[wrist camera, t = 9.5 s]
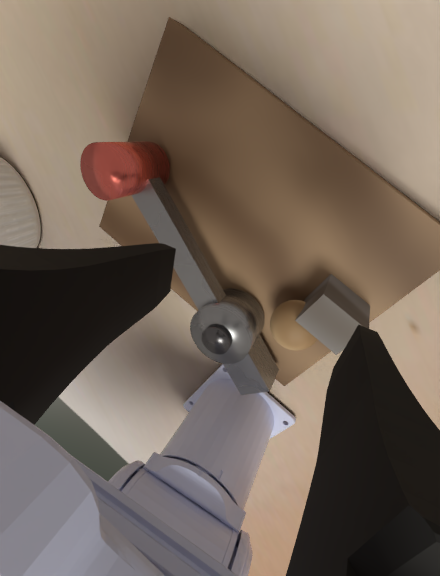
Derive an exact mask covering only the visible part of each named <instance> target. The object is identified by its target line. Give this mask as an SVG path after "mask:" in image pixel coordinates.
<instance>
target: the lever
mask: <svg viewBox="0 0 440 576" xmlns="http://www.w3.org/2000/svg"><path fill="white" fill-rule="evenodd" d="M81 172H82V176H83V179H84V181H85V184H86V185H87V187H88V189H89V190H90V191H91V192H92V193H93V194H94V195H95V196H96V197H98V198H99V199H102V200H106V201H107V200H113V199H117V198H122V197H126V196H130V195H131V196H132V197H133V199H134V201H135V202H136V204H137V206H138V208H139V209H140V211H141V213H142V214H143V216H144V218H145V220H146V221H147V223H148V225H149V226H150V228H151V230H152V232H153V233H154V235H155V237H156V238H157V240H158V242H159V243H163V244H166V245H168V246H171V247H173V248H175V249H176V252H175V260H174V267H173V268H174V269H175V271H176V273H177V274H178V276H179V278H180V280H181V281H182V283H183V285H184V286H185V288H186V290H187V292H188V293H189V295H190V297H191V298H192V300H193V302H194V304H195V305H196V307H197V309H198V310H199V311H198V312H197V313H196V314H195V315H194V316H193V318H192V320H191V325H190V330H191V335H192V338H193V340H194V342H195V344H196V345H197V347H198V348H199V349H200V351H201V352H202V353H203V354H205V355H206V356H207V357H209V358H210V359H212V360H214V361H216V362H219V363H223V365H224V367H225V369H226V370H227V372H228V374H229V375H230V377H231V379H232V380H233V382H234V384H235V386H236V387H237V389H238V391H239V392H240V394H241V395H247V394H254V393H261V392H268V391H270V389H271V387H272V384H273V382H274V380H275V378H276V375H277V373H278V371H279V368H278V367H277V365H276V363H275V361H274V359H273V358H272V356H271V354H270V352H269V350H268V348H267V347H266V345H265V343H264V341H263V339H262V338H261V336H260V333H261V331H262V329H263V327H264V313H263V310H262V308H261V306H260V305H259V303H258V302H257V301H256V300H255V299H254V298H253V297H252V296H251V295H250V294H248V293H246V292H244V291H242V290H239V289H234V288H228V289H224V290H223V289H222V287H221V285H220V284H219V282H218V280H217V278H216V276H215V275H214V273H213V271H212V269H211V267H210V266H209V264H208V262H207V260H206V259H205V257H204V255H203V253H202V251H201V250H200V248H199V246H198V244H197V242H196V241H195V239H194V237H193V235H192V233H191V232H190V230H189V228H188V226H187V224H186V223H185V221H184V219H183V217H182V216H181V214H180V212H179V210H178V208H177V207H176V205H175V203H174V201H173V199H172V198H171V196H170V194H169V192H168V190H167V189H166V187H165V184H166V182H167V180H168V178H169V173H170V165H169V160H168V157H167V155H166V153H165V152H164V150H163V149H162V148H161V147H160V146H159V145H158V144H156V143H154V142H96V143H91V144H89V145H88V146H87V147H86V148H85V149H84V151H83V153H82V156H81Z"/></svg>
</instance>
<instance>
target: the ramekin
mask: <svg viewBox="0 0 440 576" xmlns="http://www.w3.org/2000/svg"><path fill="white" fill-rule="evenodd" d="M40 235H41V224H40V218H39V213H38V209H37V206H36V203H35V201H34V198H33V196H32V194H31V192H30V190H29V188H28V186H27V185H26V183H25V182H24V180H23V179H22V177H21V176H20V175H19V173H18V172H17V171H16V170H15V169H14V168H13V167H12V166H11V165H10V164H9V163H8V162H7V161H5V160H4V159H2V158H1V157H0V245H7V246H16V247H27V248H37V246H38V244H39V241H40Z"/></svg>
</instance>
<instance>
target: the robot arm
mask: <svg viewBox="0 0 440 576" xmlns="http://www.w3.org/2000/svg"><path fill="white" fill-rule="evenodd" d="M175 252H176V249H175V248H173V247H171V246H168V245H166V244H163V243H152V244H139V245H129V246H119V247H108V248H94V249H42V248H27V247H16V246H7V245H0V576H248V573H249V569H250V565H251V560H252V547H251V544H250V537H249V534H248V533H246V532H244V531H242V530H241V531H240V528H241V526H242V523H243V520H244V517H245V514H246V512H245V511H244V510H243V509H244V507H245V504H246V501H247V498H248V496H249V493H250V490H251V487H252V485H253V482H254V479H255V477H256V474H257V471H258V468H259V466H260V463H261V460H262V457H263V455H264V452H265V449H266V447H267V444H268V441H269V439H270V438H272V437H274V436H275V435H277V434H279V433H280V432H282V431H284V430H285V429H287V428H288V427H290V426H292V425H293V424H294V423H295V420H296V419H295V417H294V415H292V414H291V413H290V412H289V411H288V410H287V409H285V408H284V407H283V406H282V405H281V404H280V403H279V402H277V401H276V400H275V399H274V398H273V397H272V396H271V395H269V394H268V393H267V392H261V393H254V394H247V395H241V394H240V392H239V391H238V389H237V387H236V386H235V384H234V382H233V380H232V379H231V377H230V375H229V374H228V372H227V370H226V369H225V367H224V365H223V364H222V365H221V366H220V367H219V368H218V369H217V370H216V371H215V372H214V373H213V374H212V375H211V376H210V377H209V378H208V379H207V380H206V381H205V382H204V383H203V384H202V385H201V386H200V387H199V388H198V389H197V390H196V391H195V392H194V393H193V394H192V395H191V396H190V397H189V398H188V399H187V400H186V401H185V403H184V404H183V406H184V408H185V409H186V410H187V411H188V412H189V413H188V415H187V416H186V418H185V419H184V420H183V422H182V423H181V425H180V426H179V428H178V429H177V431H176V432H175V433H174V435H173V436H172V438H171V439H170V441H169V442H168V444H167V445H166V446H165V448H164V449H163V451H162V452H161V454H160V455H159V454H157V453H156V452H154V453H153V454H152V456H151V457H150V458H149V460H148V461H147V462H146V464H144V463H143V462H142V461H139V460H138V461H135V462H133V463H131V464H128V465H126V466H124V467H122V468H121V469H120V470H119V471H118V472H117V473H116V474H115V475H114V476H113V477H112V478H111V479H110V480H109V481H108V482H107V481H106V480H105V479H103V478H102V477H101V476H99V475H98V474H96V473H95V472H94V471H92V470H91V469H89V468H88V467H87V466H85V465H84V464H82V463H81V462H80V461H78V460H77V459H75V458H74V457H73V456H71V455H70V454H69V453H68V452H67V451H66V450H64V449H63V448H62V447H61V446H60V445H59V444H58V443H56V441H54V440H53V439H52V438H51V437H50V436H49V435H47V434H46V433H45V432H43V431H42V430H40V429H39V428H38V427H36V426H35V425H34V424H35V423H36V422H37V421H38V420H39V418H40V417H41V416H42V415H43V414H44V412H45V411H46V410H47V409H48V408H49V406H50V405H51V404H52V403H53V402H54V401H55V400H56V398H57V397H58V396H59V395H60V394H61V393H62V392H63V391H64V390H65V388H66V387H67V386H68V385H69V384H70V383H71V382H72V381H73V380H74V379H75V378H76V376H77V375H78V374H79V373H80V372H81V371H82V370H83V369H84V368H85V367H86V366H87V365H88V364H89V363H90V362H91V361H92V360H93V359H94V358H95V357H96V356H97V355H98V354H99V353H100V352H101V351H102V350H103V349H104V348H105V347H106V346H107V345H109V344H110V343H111V342H112V341H113V340H115V339H116V338H117V337H118V336H120V335H121V334H122V333H123V332H125V331H126V330H127V329H129V328H130V327H131V326H132V325H134V324H135V323H136V322H138V321H139V320H140V319H141V318H143V317H144V316H145V315H146V314H148V313H149V312H150V311H151V310H153V309H154V308H155V307H156V306H157V305H158V304H159V303H160V302H161V301H162V300H163V299H164V298H165V297H166V295H167V294H168V293H169V292H170V289H171V281H172V274H173V267H174V260H175ZM286 421H287V422H286ZM239 531H240V532H239ZM238 533H239V534H238ZM286 576H440V430H439V429H438V428H437V427H436V425H435V424H434V423H433V421H432V420H431V419H430V418H429V416H428V415H427V414H426V412H425V411H424V409H423V408H422V407H421V405H420V404H419V402H418V401H417V399H416V398H415V396H414V395H413V393H412V392H411V390H410V389H409V387H408V386H407V384H406V382H405V381H404V379H403V378H402V376H401V374H400V372H399V371H398V369H397V367H396V365H395V364H394V362H393V360H392V358H391V356H390V355H389V353H388V351H387V349H386V347H385V345H384V343H383V341H382V340H381V338H380V336H379V334H378V333H377V332H375V331H373V330H371V329H368V328H366V327H363V326H361V325H359V324H358V326H357V328H356V329H355V331H354V333H353V335H352V336H351V338H350V340H349V342H348V343H347V345H346V347H345V349H344V350H343V352H342V354H341V356H340V357H339V359H338V361H337V363H336V364H335V366H334V368H333V372H332V375H331V379H330V382H329V386H328V389H327V394H326V401H325V408H324V415H323V423H322V430H321V437H320V445H319V452H318V457H317V462H316V467H315V471H314V475H313V479H312V483H311V487H310V491H309V494H308V498H307V502H306V506H305V509H304V513H303V517H302V521H301V524H300V528H299V532H298V535H297V539H296V542H295V546H294V549H293V553H292V556H291V560H290V563H289V567H288V570H287V573H286Z"/></svg>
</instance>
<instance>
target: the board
mask: <svg viewBox="0 0 440 576" xmlns="http://www.w3.org/2000/svg"><path fill="white" fill-rule="evenodd" d="M128 142H154V143H156V144H158V145H159V146H160V147H161V148H162V149H163V150H164V152H165V153H166V155H167V157H168V160H169V165H170V173H169V178H168V180H167V182H166V184H165V187H166V189H167V190H168V192H169V194H170V196H171V198H172V199H173V201H174V203H175V205H176V207H177V208H178V210H179V212H180V214H181V216H182V217H183V219H184V221H185V223H186V224H187V226H188V228H189V230H190V232H191V233H192V235H193V237H194V239H195V241H196V242H197V244H198V246H199V248H200V250H201V251H202V253H203V255H204V257H205V259H206V260H207V262H208V264H209V266H210V267H211V269H212V271H213V273H214V275H215V276H216V278H217V280H218V282H219V284H220V285H221V287H222V289H223V290H224V289H228V288H234V289H239V290H242V291H244V292H246V293H248V294H250V295H251V296H252V297H253V298H254V299H255V300H256V301H257V302H258V303H259V305H260V306H261V308H262V310H263V313H264V327H263V329H262V331H261V333H260V336H261V338H262V339H263V341H264V343H265V345H266V347H267V348H268V350H269V352H270V354H271V356H272V358H273V359H274V361H275V363H276V365H277V367H278V368H279V371H278V373H277V375H276V378H275V379H276V380H278V381H279V382H280V383H281V384H282V385H283V386H285V385H287V384H288V383H289V382H291V381H292V380H293V379H295V378H296V377H297V376H299V375H300V374H301V373H303V372H304V371H305V370H307V369H308V368H309V367H311V366H312V365H313V364H315V363H316V362H317V361H319V360H320V359H321V358H323V357H324V356H325V355H327V354H328V353H329V352H331V351H332V352H333V353H334V354H336V355H337V354H338V353H339V352H341V351H342V350H344V349H345V347H346V345H347V343H348V342H349V340H350V338H351V336H352V335H353V333H354V331H355V329H356V328H357V326H358V324H359V325H361V326H363V327H366V328H368V329H369V323H370V322H371V321H372V320H374V319H375V318H376V317H378V316H379V315H380V314H382V313H383V312H384V311H386V310H387V309H388V308H390V307H391V306H392V305H394V304H395V303H396V302H398V301H399V300H400V299H402V298H403V297H404V296H406V295H407V294H408V293H410V292H411V291H412V290H414V289H415V288H416V287H418V286H419V285H420V284H422V283H423V282H424V281H426V280H427V279H428V278H430V277H431V276H432V275H434V274H435V273H437V272H438V271H439V270H440V222H439V221H438V220H437V219H435V218H434V217H433V216H431V215H430V214H429V213H427V212H426V211H425V210H424V209H422V208H421V207H420V206H418V205H417V204H416V203H414V202H413V201H412V200H411V199H409V198H408V197H407V196H405V195H404V194H403V193H401V192H400V191H399V190H397V189H396V188H395V187H394V186H392V185H391V184H390V183H388V182H387V181H386V180H384V179H383V178H382V177H381V176H379V175H378V174H377V173H375V172H374V171H373V170H371V169H370V168H369V167H368V166H366V165H365V164H364V163H362V162H361V161H360V160H358V159H357V158H356V157H354V156H353V155H352V154H351V153H349V152H348V151H347V150H345V149H344V148H343V147H341V146H340V145H339V144H338V143H336V142H335V141H334V140H332V139H331V138H330V137H328V136H327V135H326V134H325V133H323V132H322V131H321V130H319V129H318V128H317V127H315V126H314V125H313V124H311V123H310V122H309V121H308V120H306V119H305V118H304V117H302V116H301V115H300V114H298V113H297V112H296V111H295V110H293V109H292V108H291V107H289V106H288V105H287V104H285V103H284V102H283V101H282V100H280V99H279V98H278V97H276V96H275V95H274V94H272V93H271V92H270V91H268V90H267V89H266V88H265V87H263V86H262V85H261V84H259V83H258V82H257V81H255V80H254V79H253V78H252V77H250V76H249V75H248V74H246V73H245V72H244V71H242V70H241V69H240V68H238V67H237V66H236V65H235V64H233V63H232V62H231V61H229V60H228V59H227V58H225V57H224V56H223V55H222V54H220V53H219V52H218V51H216V50H215V49H214V48H212V47H211V46H210V45H209V44H207V43H206V42H205V41H203V40H202V39H201V38H199V37H198V36H197V35H195V34H194V33H193V32H192V31H190V30H189V29H188V28H186V27H185V26H184V25H182V24H180V23H179V22H177V21H175V20H173V19H172V18H170V17H169V19H168V22H167V25H166V28H165V31H164V34H163V37H162V40H161V43H160V46H159V49H158V52H157V55H156V58H155V61H154V64H153V67H152V70H151V73H150V76H149V79H148V82H147V85H146V88H145V91H144V94H143V97H142V100H141V103H140V106H139V109H138V112H137V115H136V118H135V121H134V124H133V127H132V130H131V133H130V136H129V139H128ZM99 227H101V228H102V229H103V230H104V231H105V232H106V233H108V234H109V235H110V236H111V237H112V238H113V239H115V240H116V241H117V242H118V243H119V244H120V245H121V246H129V245H139V244H152V243H159V242H158V240H157V238H156V237H155V235H154V233H153V232H152V230H151V228H150V226H149V225H148V223H147V221H146V220H145V218H144V216H143V214H142V213H141V211H140V209H139V208H138V206H137V204H136V202H135V201H134V199H133V197H132V196H131V195H130V196H126V197H122V198H117V199H113V200H108V202H107V205H106V208H105V211H104V214H103V217H102V220H101V223H100V226H99ZM171 289H172V290H174V291H175V292H176V293H177V294H178V295H179V296H180V297H182V298H183V299H184V300H185V301H186V302H187V303H189V304H190V305H191V306H192V307H193V308H194V309H196V310H197V311H199V310H198V309H197V307H196V305H195V304H194V302H193V300H192V298H191V297H190V295H189V293H188V292H187V290H186V288H185V286H184V285H183V283H182V281H181V280H180V278H179V276H178V274H177V273H176V271H175V269H174V268H173V274H172V281H171Z"/></svg>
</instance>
